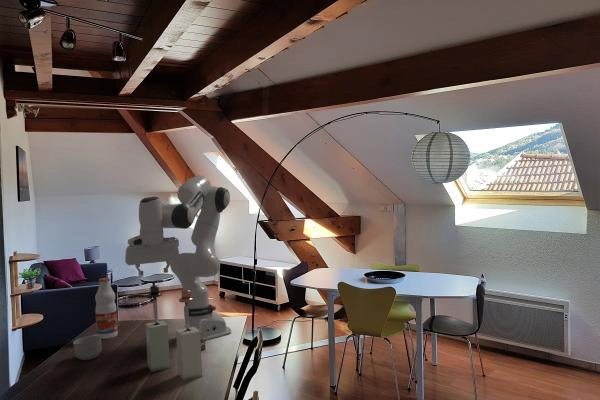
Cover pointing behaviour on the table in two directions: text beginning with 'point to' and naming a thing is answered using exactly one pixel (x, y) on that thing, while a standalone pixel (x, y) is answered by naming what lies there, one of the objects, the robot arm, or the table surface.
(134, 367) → the table surface
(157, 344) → the block
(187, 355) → the block
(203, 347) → the architectural model
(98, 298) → the fruit juice
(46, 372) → the table surface
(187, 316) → the terracotta plunger
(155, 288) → the black plunger
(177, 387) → the table surface
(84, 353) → the teacup
